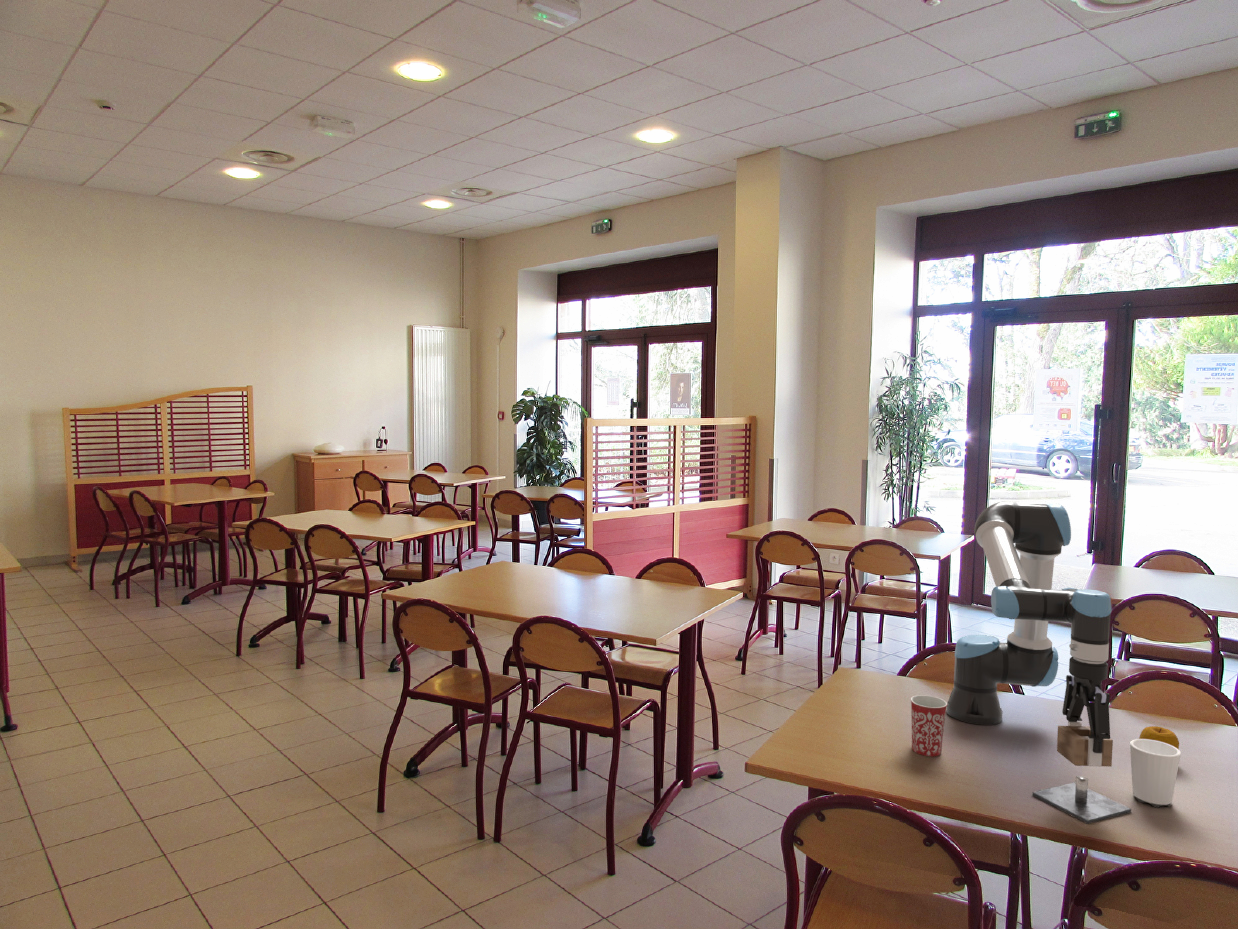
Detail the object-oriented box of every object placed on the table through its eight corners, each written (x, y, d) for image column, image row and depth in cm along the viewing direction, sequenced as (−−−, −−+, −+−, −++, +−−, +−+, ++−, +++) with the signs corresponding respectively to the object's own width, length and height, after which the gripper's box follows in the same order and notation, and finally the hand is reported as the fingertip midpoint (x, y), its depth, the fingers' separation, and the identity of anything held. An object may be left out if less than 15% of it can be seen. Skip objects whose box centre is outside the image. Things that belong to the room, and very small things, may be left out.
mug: (947, 760, 208) (949, 708, 208) (910, 756, 211) (912, 705, 210) (940, 741, 221) (942, 692, 220) (905, 737, 223) (907, 689, 222)
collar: (1056, 751, 189) (1058, 725, 189) (1091, 752, 189) (1093, 726, 189) (1075, 765, 181) (1076, 739, 181) (1111, 766, 181) (1112, 740, 181)
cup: (1170, 795, 191) (1173, 742, 190) (1184, 814, 182) (1187, 759, 181) (1121, 788, 194) (1124, 736, 193) (1132, 806, 185) (1136, 752, 184)
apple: (1141, 764, 207) (1143, 731, 207) (1134, 752, 215) (1136, 719, 215) (1181, 770, 204) (1183, 736, 204) (1172, 757, 212) (1174, 724, 212)
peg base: (1074, 785, 195) (1075, 761, 195) (1131, 812, 182) (1132, 786, 182) (1032, 795, 190) (1033, 770, 189) (1087, 824, 177) (1088, 797, 176)
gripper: (1048, 645, 194) (1044, 739, 195) (1097, 673, 173) (1092, 777, 175) (1080, 646, 194) (1075, 740, 195) (1133, 674, 173) (1127, 778, 174)
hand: (1083, 757), depth 185 cm, fingers closed on collar, 8 cm apart
